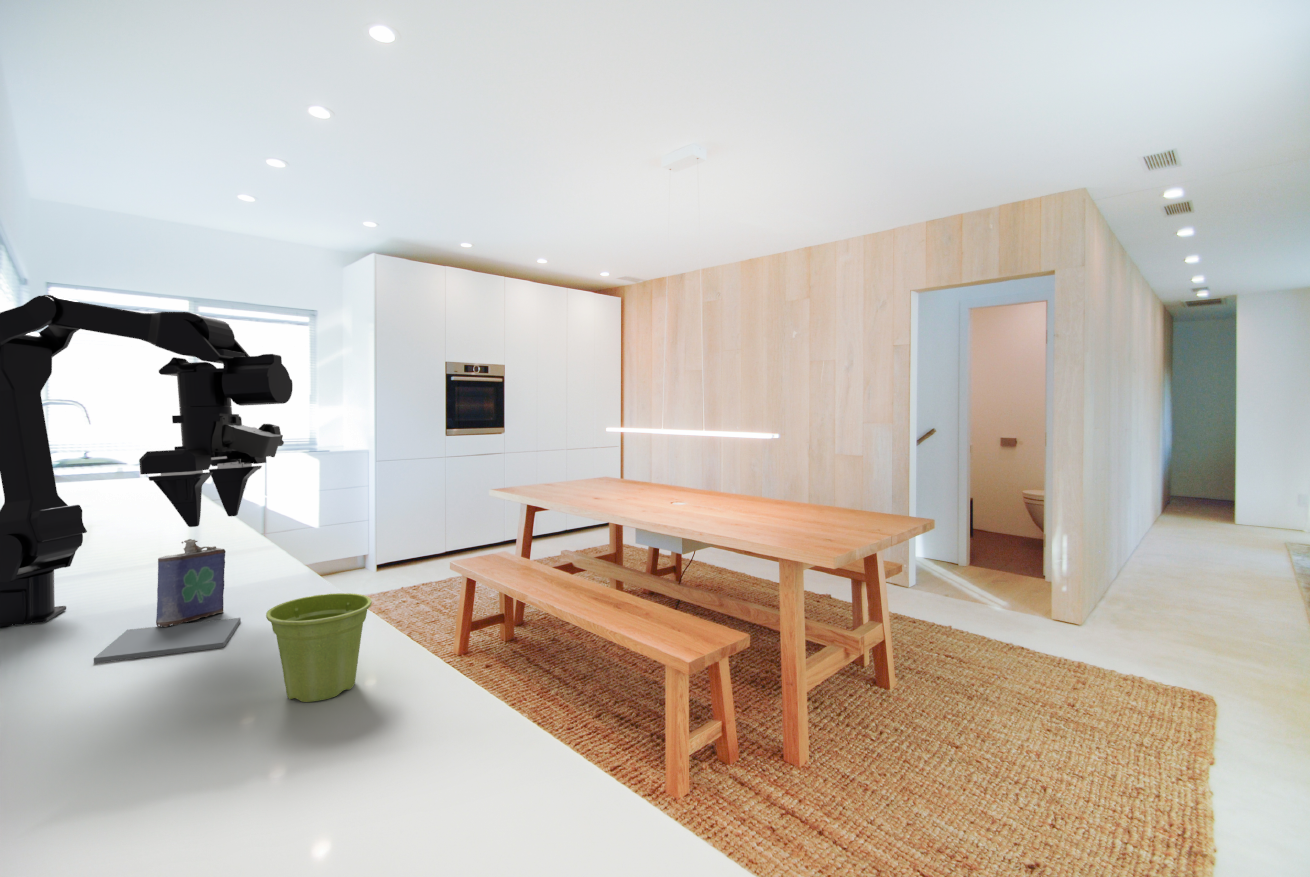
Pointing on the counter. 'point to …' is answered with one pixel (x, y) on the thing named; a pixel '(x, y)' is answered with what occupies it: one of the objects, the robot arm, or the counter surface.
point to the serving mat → (169, 640)
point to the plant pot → (319, 643)
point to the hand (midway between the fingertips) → (214, 521)
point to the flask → (190, 584)
